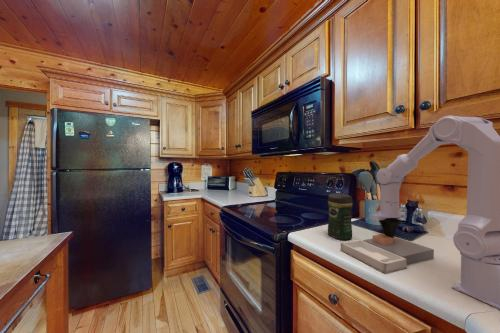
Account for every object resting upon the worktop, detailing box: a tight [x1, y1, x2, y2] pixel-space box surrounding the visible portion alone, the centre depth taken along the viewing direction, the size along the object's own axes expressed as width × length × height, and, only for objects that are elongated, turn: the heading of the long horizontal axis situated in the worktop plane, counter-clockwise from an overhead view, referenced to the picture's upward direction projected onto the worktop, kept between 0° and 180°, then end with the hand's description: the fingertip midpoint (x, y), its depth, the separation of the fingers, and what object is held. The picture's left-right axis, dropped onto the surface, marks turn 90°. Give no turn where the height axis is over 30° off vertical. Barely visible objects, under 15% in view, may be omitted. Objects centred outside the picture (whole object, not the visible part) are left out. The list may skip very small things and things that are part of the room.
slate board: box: [362, 235, 435, 266], centre depth 70 cm, size 14×15×3 cm
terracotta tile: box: [371, 233, 393, 245], centre depth 72 cm, size 4×4×2 cm
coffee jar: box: [327, 192, 353, 241], centre depth 86 cm, size 10×8×19 cm
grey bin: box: [340, 239, 408, 275], centre depth 66 cm, size 16×9×3 cm, turn 20°
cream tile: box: [367, 252, 390, 262], centre depth 62 cm, size 4×4×2 cm
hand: (389, 238), depth 73 cm, fingers closed
